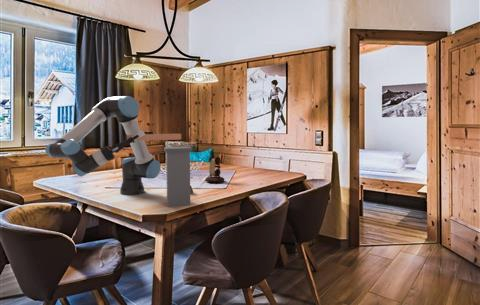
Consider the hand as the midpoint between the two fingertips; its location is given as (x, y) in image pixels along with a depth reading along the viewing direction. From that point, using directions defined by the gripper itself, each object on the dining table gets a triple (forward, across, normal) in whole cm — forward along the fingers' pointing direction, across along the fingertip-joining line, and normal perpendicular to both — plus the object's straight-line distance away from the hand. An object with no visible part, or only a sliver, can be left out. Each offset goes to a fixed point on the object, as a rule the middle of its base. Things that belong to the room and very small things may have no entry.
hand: (143, 132), depth 167 cm
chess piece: (+24, -60, -62) cm, 89 cm away
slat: (+3, 0, -6) cm, 7 cm away
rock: (+1, -27, -48) cm, 55 cm away
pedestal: (-5, -1, -44) cm, 44 cm away
